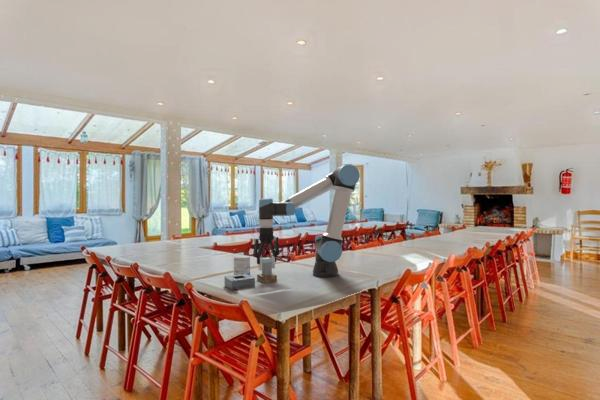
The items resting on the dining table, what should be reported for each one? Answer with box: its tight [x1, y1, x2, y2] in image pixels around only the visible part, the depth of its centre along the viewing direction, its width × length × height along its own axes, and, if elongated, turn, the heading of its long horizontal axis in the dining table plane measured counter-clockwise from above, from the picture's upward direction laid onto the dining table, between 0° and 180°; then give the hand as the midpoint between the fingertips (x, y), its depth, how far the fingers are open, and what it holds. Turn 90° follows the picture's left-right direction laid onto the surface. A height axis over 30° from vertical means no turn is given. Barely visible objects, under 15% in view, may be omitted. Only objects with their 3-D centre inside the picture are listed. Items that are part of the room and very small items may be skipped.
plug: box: [261, 257, 273, 276], centre depth 188 cm, size 4×4×12 cm
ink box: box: [233, 256, 251, 276], centre depth 201 cm, size 9×5×12 cm, turn 74°
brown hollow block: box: [256, 273, 278, 284], centre depth 188 cm, size 8×8×4 cm
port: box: [224, 274, 256, 292], centre depth 179 cm, size 12×12×5 cm
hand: (266, 269), depth 188 cm, fingers open, 7 cm apart
